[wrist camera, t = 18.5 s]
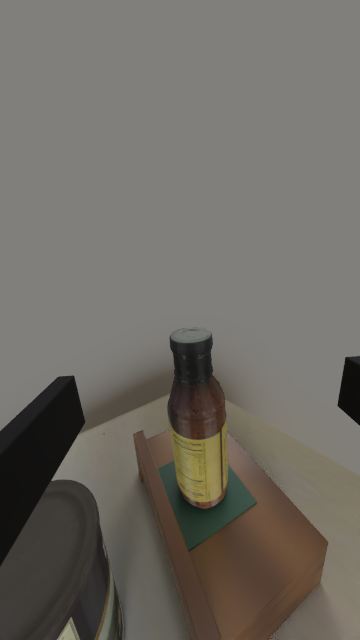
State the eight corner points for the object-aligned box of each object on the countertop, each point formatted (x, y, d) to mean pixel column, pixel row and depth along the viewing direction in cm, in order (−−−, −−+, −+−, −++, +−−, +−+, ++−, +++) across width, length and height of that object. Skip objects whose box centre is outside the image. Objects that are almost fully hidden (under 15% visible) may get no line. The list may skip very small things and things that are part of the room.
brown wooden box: (211, 438, 38) (210, 402, 36) (320, 580, 21) (331, 527, 19) (139, 473, 33) (132, 433, 30) (205, 709, 15) (202, 654, 13)
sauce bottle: (201, 451, 29) (195, 318, 24) (238, 484, 24) (241, 329, 19) (164, 483, 25) (147, 333, 20) (201, 531, 20) (191, 351, 15)
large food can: (79, 551, 24) (51, 460, 20) (147, 619, 19) (127, 516, 15) (-42, 717, 15) (-129, 611, 12) (25, 919, 10) (-88, 850, 7)
